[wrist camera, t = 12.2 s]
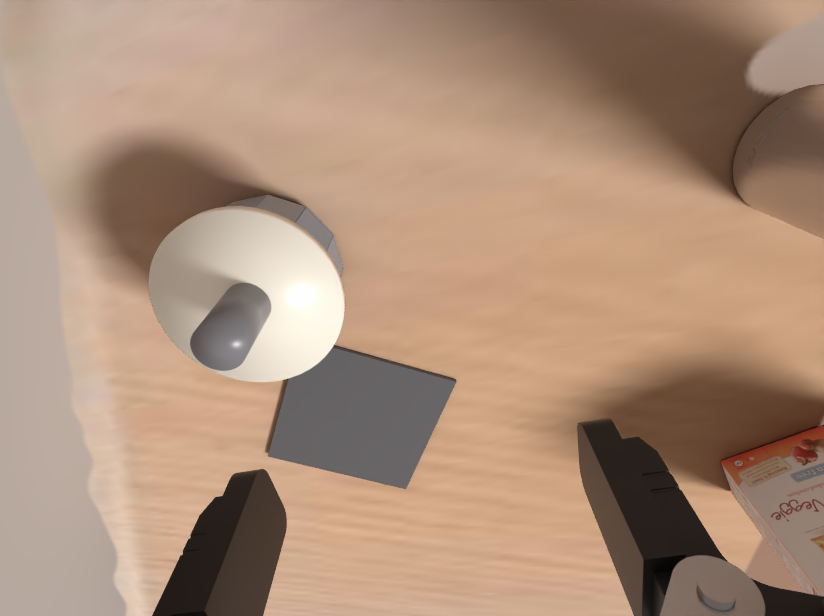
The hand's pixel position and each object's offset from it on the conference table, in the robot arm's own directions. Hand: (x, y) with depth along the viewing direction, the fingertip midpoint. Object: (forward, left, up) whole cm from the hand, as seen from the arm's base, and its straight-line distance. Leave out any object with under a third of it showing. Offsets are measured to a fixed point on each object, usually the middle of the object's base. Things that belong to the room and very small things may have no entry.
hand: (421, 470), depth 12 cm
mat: (-2, +23, -28) cm, 36 cm away
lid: (+9, +9, -21) cm, 24 cm away
